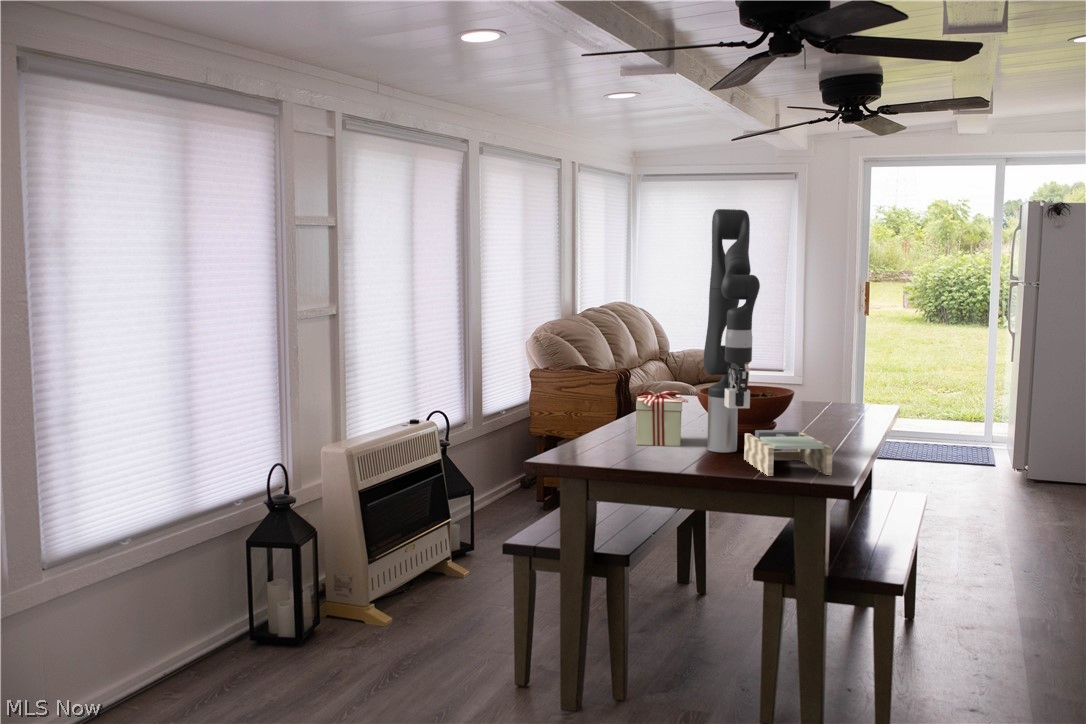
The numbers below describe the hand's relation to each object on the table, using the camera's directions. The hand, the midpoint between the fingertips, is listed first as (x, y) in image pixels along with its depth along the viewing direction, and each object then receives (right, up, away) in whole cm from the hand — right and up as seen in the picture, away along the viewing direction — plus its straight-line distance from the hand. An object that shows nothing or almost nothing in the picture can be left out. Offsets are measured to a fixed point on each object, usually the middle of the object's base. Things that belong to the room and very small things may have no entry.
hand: (736, 404), depth 270 cm
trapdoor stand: (+15, -18, +4) cm, 24 cm away
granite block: (0, -1, 0) cm, 1 cm away
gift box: (-16, -15, +43) cm, 48 cm away
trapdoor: (+15, -13, +3) cm, 20 cm away
